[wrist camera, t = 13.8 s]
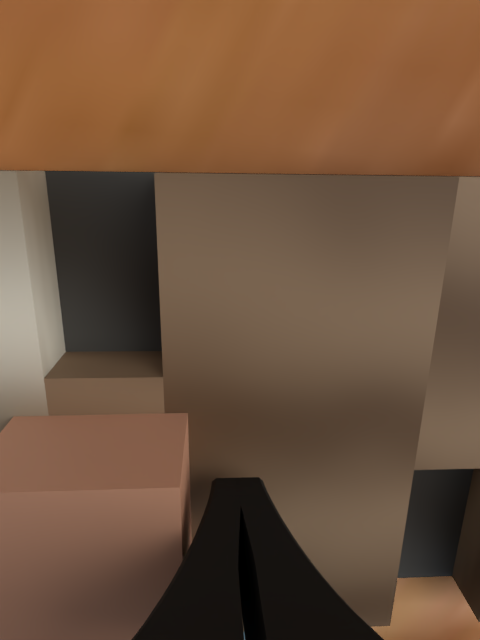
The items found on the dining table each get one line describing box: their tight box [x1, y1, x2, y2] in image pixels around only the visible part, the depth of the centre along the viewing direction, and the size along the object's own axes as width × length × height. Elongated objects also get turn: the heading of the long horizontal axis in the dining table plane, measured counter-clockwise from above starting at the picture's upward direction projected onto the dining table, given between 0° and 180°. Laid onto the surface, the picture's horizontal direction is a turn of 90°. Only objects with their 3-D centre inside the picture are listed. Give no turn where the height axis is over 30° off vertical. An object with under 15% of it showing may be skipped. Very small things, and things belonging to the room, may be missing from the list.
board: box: [0, 170, 480, 632], centre depth 13 cm, size 14×26×4 cm, turn 89°
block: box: [0, 413, 192, 640], centre depth 11 cm, size 4×4×3 cm
